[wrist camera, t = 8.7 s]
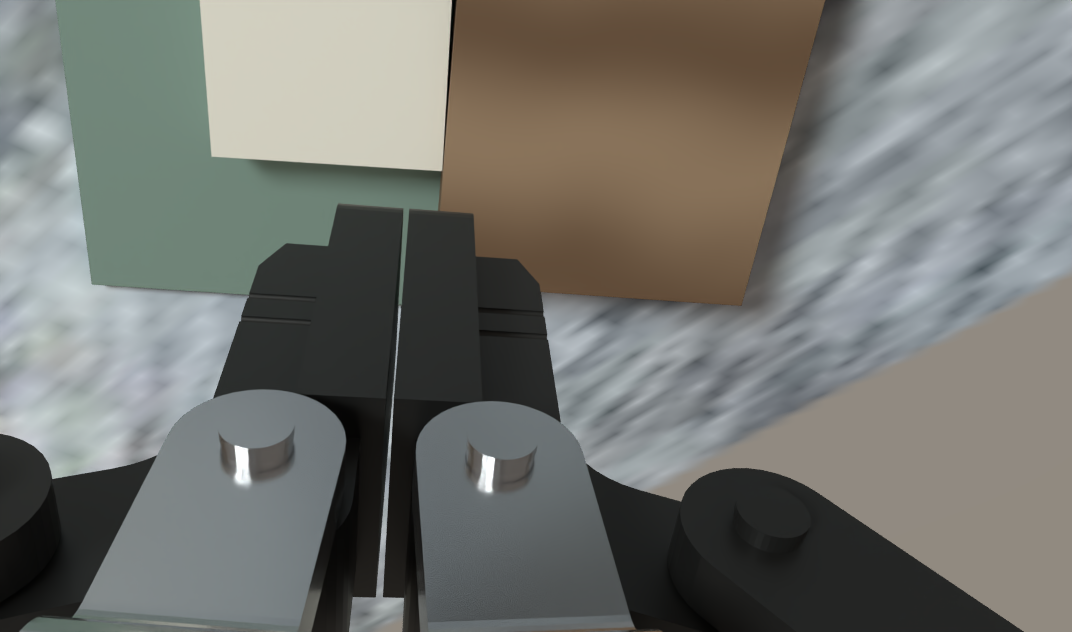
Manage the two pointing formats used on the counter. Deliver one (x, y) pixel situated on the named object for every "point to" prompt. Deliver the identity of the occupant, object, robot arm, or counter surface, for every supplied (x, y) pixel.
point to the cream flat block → (328, 80)
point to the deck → (623, 137)
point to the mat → (190, 160)
